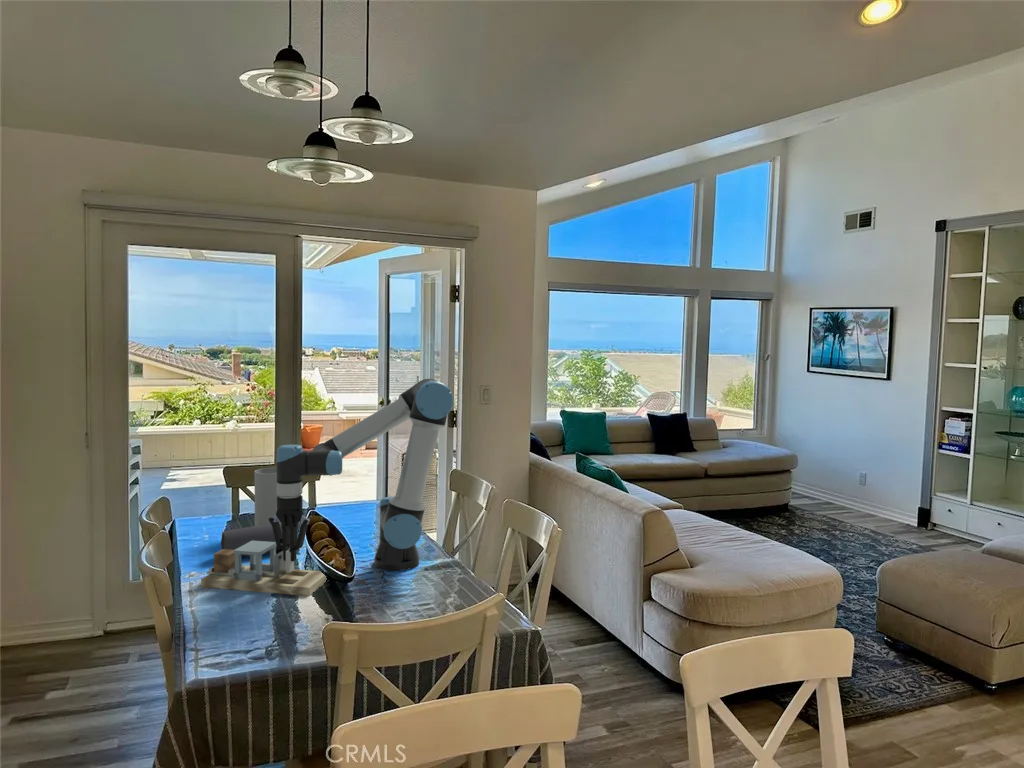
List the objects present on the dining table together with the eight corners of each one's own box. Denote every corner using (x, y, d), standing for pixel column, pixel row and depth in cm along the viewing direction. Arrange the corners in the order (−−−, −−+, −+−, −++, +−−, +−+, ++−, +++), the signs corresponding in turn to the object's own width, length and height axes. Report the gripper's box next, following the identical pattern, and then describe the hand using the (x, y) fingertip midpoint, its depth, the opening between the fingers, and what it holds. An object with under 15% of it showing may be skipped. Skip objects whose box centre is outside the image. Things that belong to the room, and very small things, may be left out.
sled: (287, 572, 211) (287, 550, 211) (277, 579, 205) (277, 557, 205) (218, 567, 215) (218, 545, 214) (206, 574, 208) (206, 551, 208)
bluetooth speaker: (287, 545, 248) (287, 518, 247) (294, 552, 240) (294, 524, 239) (220, 555, 235) (220, 527, 234) (225, 563, 227) (225, 533, 227)
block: (237, 567, 213) (237, 550, 213) (228, 572, 208) (228, 554, 208) (223, 566, 214) (223, 549, 213) (213, 571, 209) (213, 553, 208)
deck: (329, 579, 213) (329, 571, 213) (309, 595, 200) (309, 587, 199) (227, 571, 219) (227, 563, 218) (201, 587, 205) (201, 578, 205)
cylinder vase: (295, 533, 263) (295, 470, 261) (268, 540, 253) (268, 475, 251) (274, 528, 270) (274, 466, 268) (247, 535, 259) (247, 471, 258)
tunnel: (277, 570, 214) (277, 542, 213) (260, 581, 204) (260, 552, 203) (252, 568, 215) (251, 540, 215) (233, 579, 205) (233, 550, 204)
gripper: (314, 493, 209) (314, 568, 210) (276, 491, 211) (276, 565, 212) (303, 499, 201) (304, 576, 203) (263, 497, 203) (264, 573, 205)
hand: (289, 570), depth 208 cm, fingers closed
